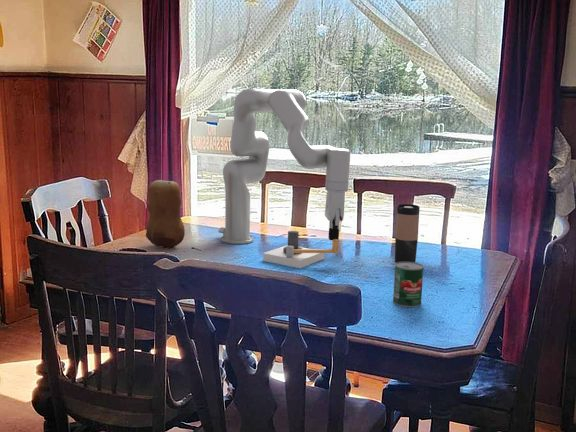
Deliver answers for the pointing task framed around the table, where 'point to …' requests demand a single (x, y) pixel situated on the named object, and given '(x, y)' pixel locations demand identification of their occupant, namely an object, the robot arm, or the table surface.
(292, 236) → the plug
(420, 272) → the canned tomato
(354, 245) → the table surface
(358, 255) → the table surface
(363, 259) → the table surface
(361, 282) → the table surface
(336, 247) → the orange crank handle
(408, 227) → the travel mug
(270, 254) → the white square base
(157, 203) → the butternut squash
